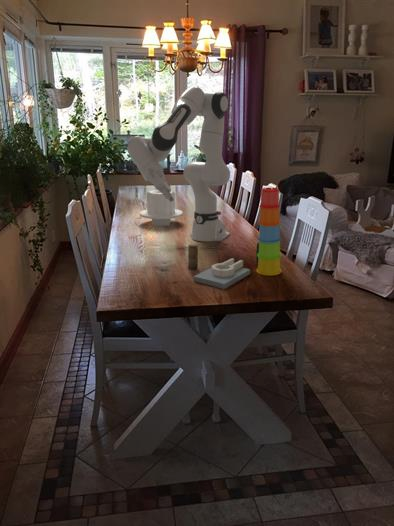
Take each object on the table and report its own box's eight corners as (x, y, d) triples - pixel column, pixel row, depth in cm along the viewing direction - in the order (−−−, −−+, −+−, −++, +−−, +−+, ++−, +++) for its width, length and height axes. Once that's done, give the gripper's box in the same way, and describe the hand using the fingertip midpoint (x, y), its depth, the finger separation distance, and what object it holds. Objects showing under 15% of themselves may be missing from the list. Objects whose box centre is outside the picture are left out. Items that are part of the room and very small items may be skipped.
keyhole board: (223, 266, 188) (223, 256, 186) (251, 272, 180) (252, 262, 179) (193, 280, 171) (193, 270, 170) (224, 289, 164) (224, 277, 162)
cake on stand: (143, 218, 272) (142, 187, 266) (183, 219, 271) (183, 188, 265) (136, 228, 248) (135, 195, 242) (180, 229, 247) (180, 195, 241)
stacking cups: (275, 277, 175) (281, 191, 164) (252, 272, 180) (256, 188, 169) (285, 270, 183) (291, 187, 172) (262, 266, 189) (267, 185, 177)
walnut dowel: (191, 266, 188) (191, 243, 185) (199, 267, 186) (199, 245, 183) (186, 268, 185) (186, 245, 182) (194, 270, 183) (194, 247, 180)
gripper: (153, 163, 173) (172, 192, 172) (163, 172, 193) (180, 198, 193) (140, 172, 174) (159, 201, 173) (151, 180, 194) (168, 206, 193)
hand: (170, 199), depth 183 cm, fingers open, 8 cm apart
